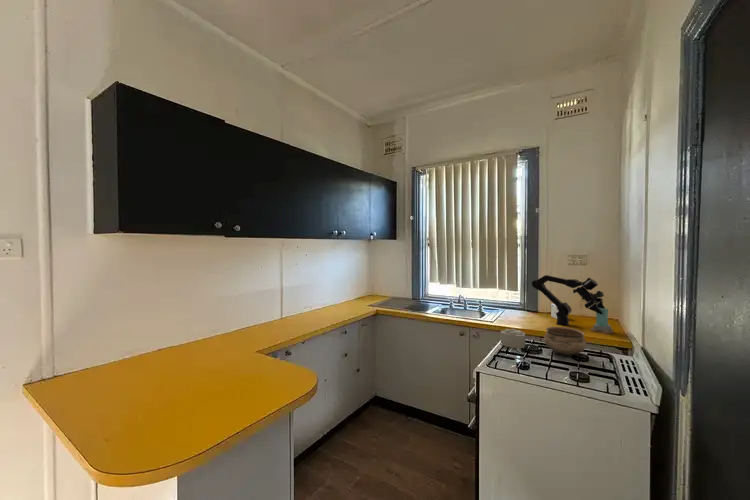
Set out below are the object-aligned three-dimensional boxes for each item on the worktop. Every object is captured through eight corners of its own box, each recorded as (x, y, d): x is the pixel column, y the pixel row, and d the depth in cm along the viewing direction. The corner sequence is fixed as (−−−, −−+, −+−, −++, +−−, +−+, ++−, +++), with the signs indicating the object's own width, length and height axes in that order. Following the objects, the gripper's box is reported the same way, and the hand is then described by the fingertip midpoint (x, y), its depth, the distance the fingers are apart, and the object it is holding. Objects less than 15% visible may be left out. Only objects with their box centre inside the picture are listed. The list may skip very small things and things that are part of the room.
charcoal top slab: (593, 328, 207) (593, 325, 207) (596, 326, 212) (596, 323, 212) (607, 331, 201) (607, 327, 201) (611, 329, 206) (611, 325, 206)
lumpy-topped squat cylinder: (524, 349, 172) (524, 334, 172) (499, 345, 179) (499, 330, 178) (525, 344, 181) (525, 329, 181) (501, 340, 188) (501, 326, 187)
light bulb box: (567, 319, 238) (567, 306, 238) (558, 319, 238) (558, 306, 238) (559, 316, 249) (559, 303, 249) (550, 316, 249) (550, 303, 249)
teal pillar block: (596, 325, 207) (596, 308, 206) (598, 323, 210) (599, 307, 210) (605, 326, 203) (605, 310, 202) (607, 325, 206) (607, 308, 206)
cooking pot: (584, 365, 149) (585, 340, 149) (540, 357, 160) (540, 333, 160) (586, 350, 169) (587, 328, 169) (547, 344, 181) (547, 323, 180)
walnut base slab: (590, 332, 207) (590, 328, 207) (595, 329, 213) (595, 326, 213) (609, 335, 199) (609, 332, 199) (613, 332, 206) (613, 329, 206)
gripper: (590, 288, 203) (610, 307, 195) (599, 285, 215) (619, 304, 207) (576, 298, 210) (595, 317, 201) (586, 295, 221) (604, 313, 213)
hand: (604, 313), depth 205 cm, fingers open, 9 cm apart
